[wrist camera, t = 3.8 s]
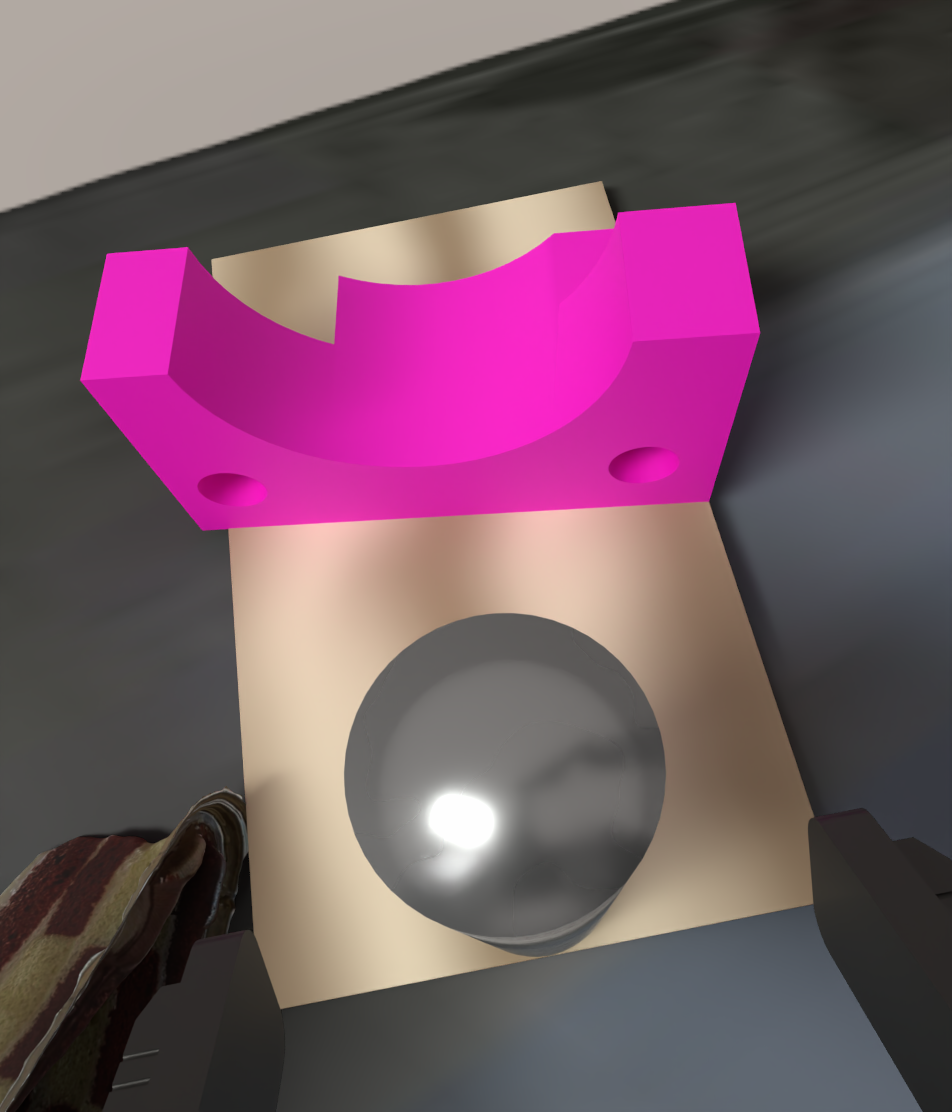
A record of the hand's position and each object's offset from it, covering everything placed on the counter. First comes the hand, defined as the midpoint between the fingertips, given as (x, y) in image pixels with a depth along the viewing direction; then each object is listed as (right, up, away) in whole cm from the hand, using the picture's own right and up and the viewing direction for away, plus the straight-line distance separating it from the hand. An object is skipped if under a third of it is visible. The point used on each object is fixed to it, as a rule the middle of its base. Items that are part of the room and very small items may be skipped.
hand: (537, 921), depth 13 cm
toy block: (-2, +9, +15) cm, 18 cm away
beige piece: (-1, +6, +14) cm, 15 cm away
